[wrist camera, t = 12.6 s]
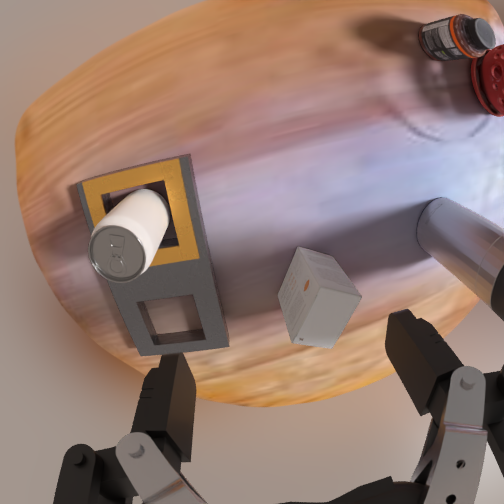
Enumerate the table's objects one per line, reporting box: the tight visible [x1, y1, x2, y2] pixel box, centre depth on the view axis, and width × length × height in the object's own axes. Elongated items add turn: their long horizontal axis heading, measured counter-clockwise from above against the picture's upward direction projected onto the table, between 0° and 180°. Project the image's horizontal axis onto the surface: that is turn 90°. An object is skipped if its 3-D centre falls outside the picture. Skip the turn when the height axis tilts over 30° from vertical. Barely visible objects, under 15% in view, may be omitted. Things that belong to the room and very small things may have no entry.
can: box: [88, 189, 170, 283], centre depth 30 cm, size 6×6×12 cm
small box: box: [278, 246, 362, 349], centre depth 36 cm, size 8×6×10 cm
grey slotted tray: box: [76, 154, 229, 356], centre depth 37 cm, size 27×14×3 cm, turn 8°
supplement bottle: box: [419, 14, 496, 61], centre depth 22 cm, size 6×6×11 cm
